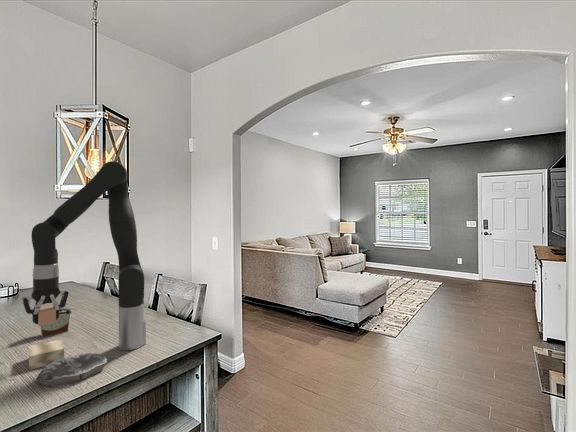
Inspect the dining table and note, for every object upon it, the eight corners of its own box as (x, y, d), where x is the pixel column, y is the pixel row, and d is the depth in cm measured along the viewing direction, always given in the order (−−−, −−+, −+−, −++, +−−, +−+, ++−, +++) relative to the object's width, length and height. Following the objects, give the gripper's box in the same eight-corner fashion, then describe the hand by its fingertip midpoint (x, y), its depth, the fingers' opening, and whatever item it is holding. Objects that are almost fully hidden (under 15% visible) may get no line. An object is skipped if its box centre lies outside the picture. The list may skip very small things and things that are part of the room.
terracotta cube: (52, 319, 119) (52, 306, 119) (55, 322, 116) (56, 309, 116) (35, 322, 115) (35, 309, 115) (39, 326, 112) (39, 312, 112)
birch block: (62, 351, 123) (62, 339, 123) (64, 361, 115) (63, 348, 115) (29, 359, 117) (29, 346, 116) (28, 370, 109) (28, 356, 109)
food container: (67, 327, 146) (67, 306, 146) (71, 330, 142) (71, 309, 142) (34, 335, 137) (34, 312, 136) (38, 339, 133) (37, 316, 133)
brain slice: (95, 355, 121) (95, 347, 120) (112, 371, 109) (112, 362, 109) (30, 375, 106) (30, 367, 106) (42, 396, 95) (42, 386, 94)
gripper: (22, 281, 107) (23, 329, 108) (72, 274, 118) (71, 319, 118) (18, 277, 112) (18, 324, 112) (66, 271, 123) (66, 314, 123)
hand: (46, 321), depth 115 cm, fingers closed on terracotta cube, 5 cm apart
